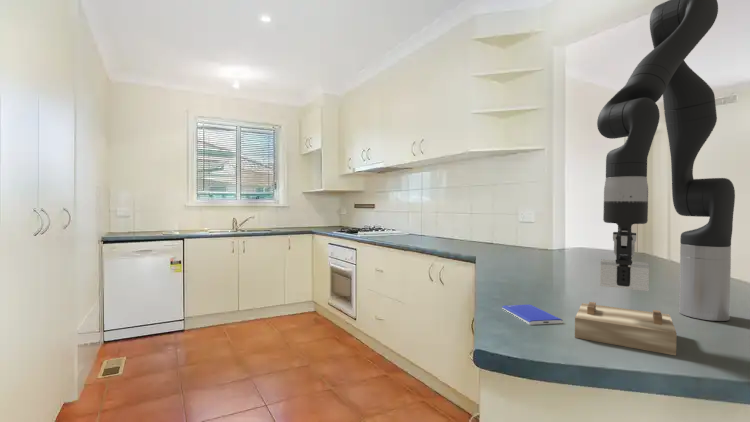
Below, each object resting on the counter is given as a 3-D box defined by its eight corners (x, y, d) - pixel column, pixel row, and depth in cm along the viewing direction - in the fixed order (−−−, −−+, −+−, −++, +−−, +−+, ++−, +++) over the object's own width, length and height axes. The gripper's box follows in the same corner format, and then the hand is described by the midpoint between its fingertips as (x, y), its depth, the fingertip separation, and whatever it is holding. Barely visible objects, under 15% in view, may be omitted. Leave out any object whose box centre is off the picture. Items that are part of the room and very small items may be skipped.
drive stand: (581, 320, 88) (582, 296, 88) (669, 333, 79) (669, 307, 79) (574, 337, 76) (575, 310, 76) (676, 355, 67) (676, 324, 67)
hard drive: (502, 305, 96) (529, 320, 84) (531, 304, 98) (562, 318, 85) (501, 311, 96) (529, 327, 84) (531, 310, 98) (562, 325, 86)
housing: (647, 287, 77) (647, 262, 77) (648, 291, 73) (649, 265, 73) (601, 282, 81) (601, 259, 81) (600, 285, 77) (600, 261, 77)
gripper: (649, 199, 69) (647, 292, 69) (646, 200, 81) (644, 280, 81) (601, 199, 73) (599, 287, 73) (605, 200, 85) (603, 276, 85)
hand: (623, 283), depth 77 cm, fingers closed on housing, 4 cm apart
